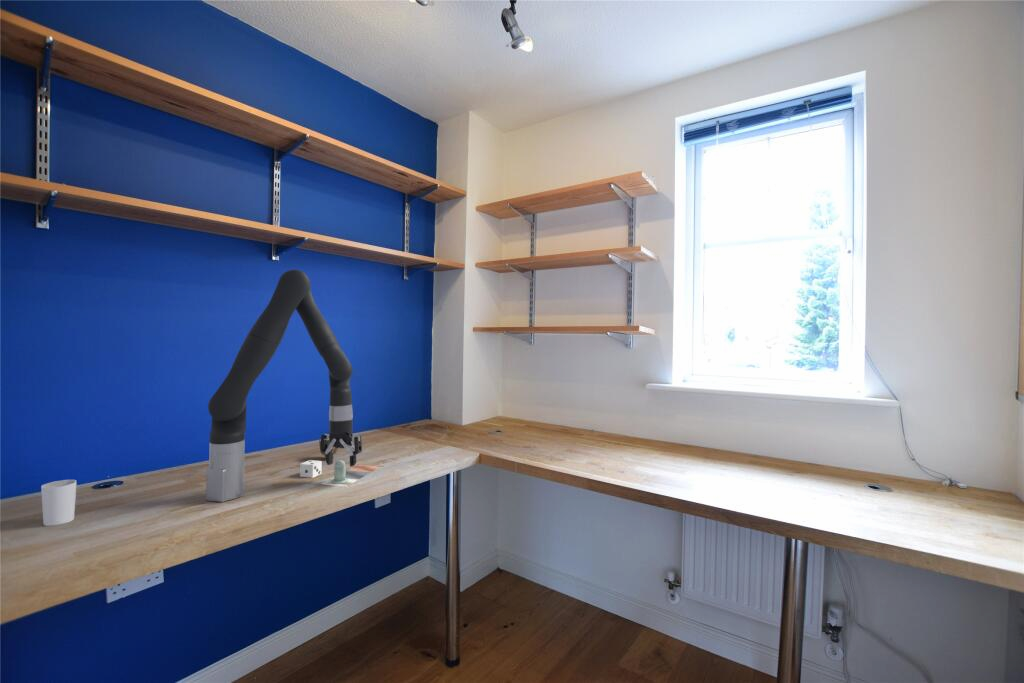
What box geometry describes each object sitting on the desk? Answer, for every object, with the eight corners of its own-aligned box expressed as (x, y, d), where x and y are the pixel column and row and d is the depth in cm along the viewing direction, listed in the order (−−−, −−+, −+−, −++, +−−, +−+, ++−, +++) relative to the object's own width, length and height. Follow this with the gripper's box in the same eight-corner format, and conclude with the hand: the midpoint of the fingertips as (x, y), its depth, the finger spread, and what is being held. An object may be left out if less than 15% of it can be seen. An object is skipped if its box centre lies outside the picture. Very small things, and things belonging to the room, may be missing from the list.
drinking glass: (83, 515, 122) (83, 479, 122) (62, 525, 116) (63, 487, 116) (55, 516, 121) (55, 480, 121) (33, 527, 115) (33, 488, 115)
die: (312, 479, 157) (312, 464, 156) (299, 478, 158) (300, 463, 157) (321, 474, 161) (321, 460, 161) (309, 473, 162) (309, 459, 162)
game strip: (346, 488, 147) (346, 487, 147) (316, 485, 149) (316, 484, 149) (383, 467, 172) (383, 466, 172) (357, 464, 174) (357, 463, 174)
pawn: (342, 484, 150) (342, 463, 150) (328, 483, 151) (328, 461, 151) (350, 480, 155) (351, 459, 155) (337, 478, 156) (337, 457, 156)
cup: (331, 462, 177) (331, 442, 177) (314, 460, 179) (315, 440, 179) (342, 457, 184) (342, 438, 184) (326, 456, 186) (326, 436, 186)
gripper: (315, 419, 150) (315, 467, 151) (353, 421, 147) (354, 469, 148) (328, 415, 158) (329, 460, 158) (365, 416, 155) (365, 463, 155)
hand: (341, 465), depth 153 cm, fingers open, 8 cm apart
